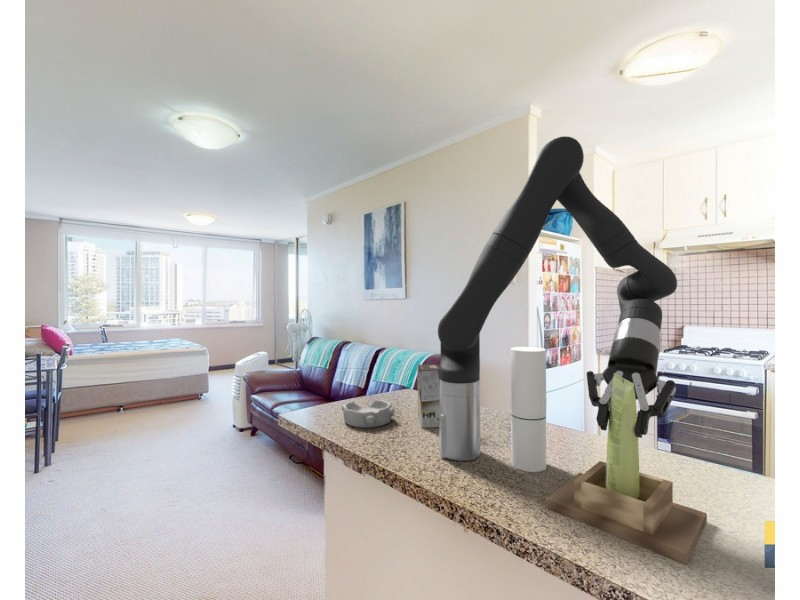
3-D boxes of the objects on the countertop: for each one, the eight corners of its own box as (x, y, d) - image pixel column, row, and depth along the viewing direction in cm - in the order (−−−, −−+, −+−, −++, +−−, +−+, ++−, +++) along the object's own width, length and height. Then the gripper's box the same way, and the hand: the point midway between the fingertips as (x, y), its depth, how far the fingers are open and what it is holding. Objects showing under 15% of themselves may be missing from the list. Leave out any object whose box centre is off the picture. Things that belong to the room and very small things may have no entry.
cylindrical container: (545, 460, 87) (545, 347, 86) (546, 474, 80) (546, 352, 80) (512, 456, 89) (511, 346, 89) (510, 469, 82) (509, 350, 82)
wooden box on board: (545, 507, 68) (545, 475, 68) (579, 480, 77) (579, 452, 77) (686, 564, 53) (686, 524, 53) (706, 522, 63) (706, 488, 63)
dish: (336, 419, 117) (336, 403, 117) (376, 411, 125) (376, 396, 125) (358, 434, 105) (357, 415, 105) (401, 424, 112) (401, 406, 112)
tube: (649, 496, 64) (649, 378, 64) (634, 506, 62) (633, 382, 61) (615, 483, 69) (614, 372, 69) (598, 491, 66) (598, 376, 66)
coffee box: (444, 427, 109) (443, 369, 109) (421, 428, 108) (420, 370, 108) (438, 417, 118) (437, 363, 118) (417, 417, 118) (416, 364, 117)
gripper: (589, 333, 75) (568, 411, 66) (680, 338, 66) (671, 429, 57) (597, 357, 79) (578, 433, 70) (684, 365, 70) (675, 454, 61)
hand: (620, 431), depth 64 cm, fingers closed on tube, 4 cm apart
